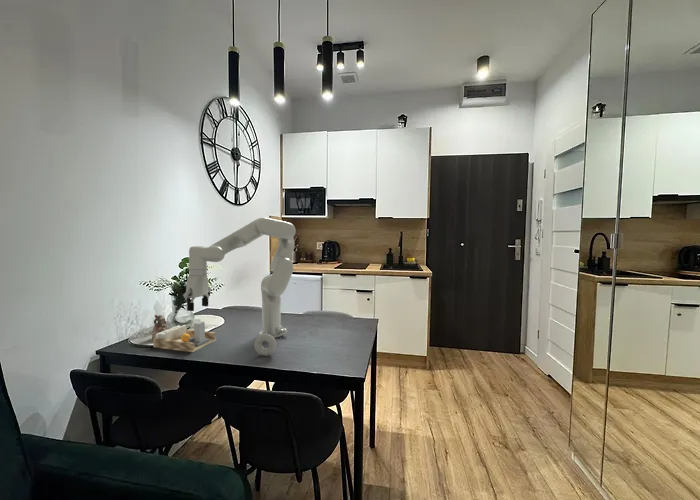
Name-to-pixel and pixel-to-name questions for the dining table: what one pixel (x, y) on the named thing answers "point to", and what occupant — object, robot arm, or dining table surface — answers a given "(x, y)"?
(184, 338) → the ball
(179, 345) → the wooden tray
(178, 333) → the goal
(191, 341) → the striker
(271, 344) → the donut
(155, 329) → the figurine
